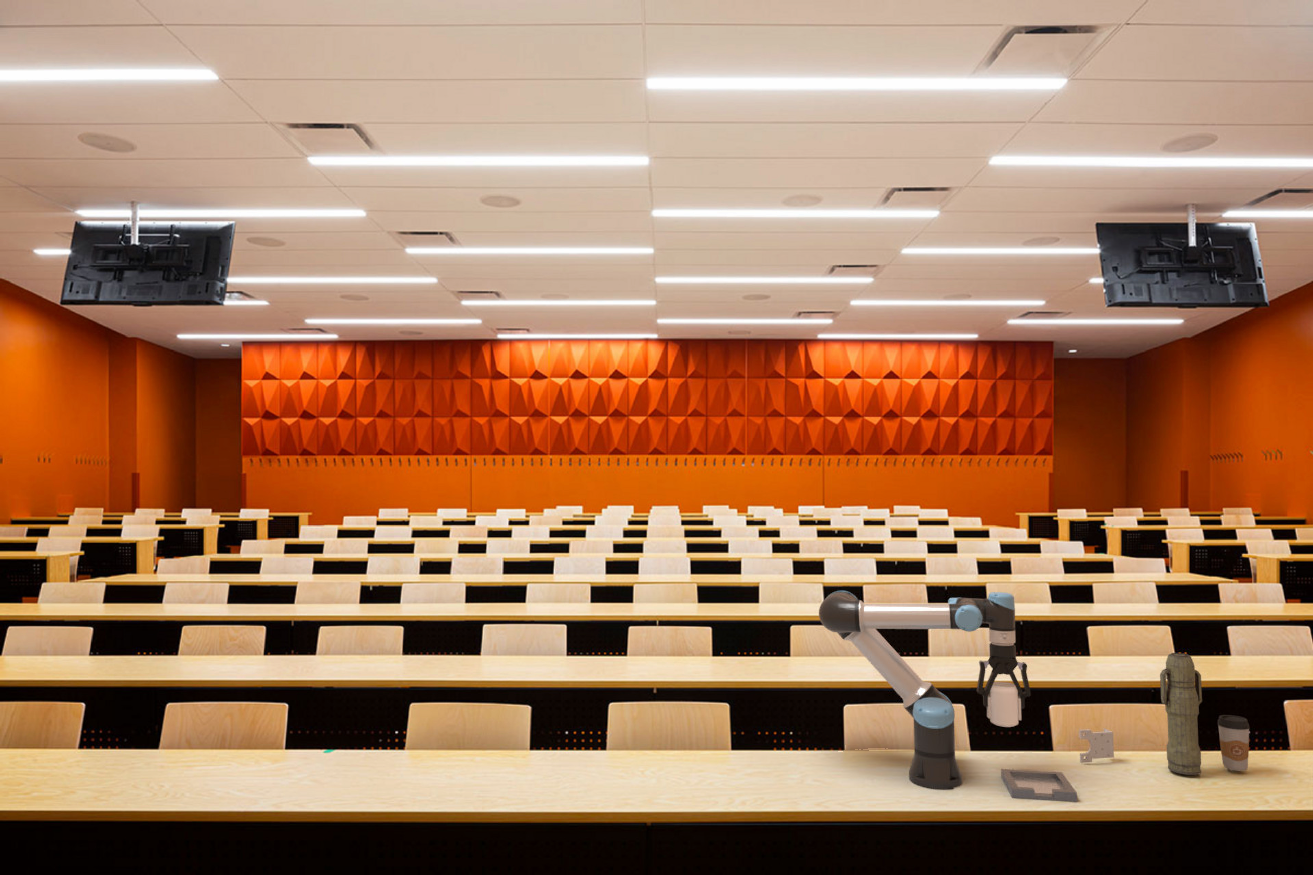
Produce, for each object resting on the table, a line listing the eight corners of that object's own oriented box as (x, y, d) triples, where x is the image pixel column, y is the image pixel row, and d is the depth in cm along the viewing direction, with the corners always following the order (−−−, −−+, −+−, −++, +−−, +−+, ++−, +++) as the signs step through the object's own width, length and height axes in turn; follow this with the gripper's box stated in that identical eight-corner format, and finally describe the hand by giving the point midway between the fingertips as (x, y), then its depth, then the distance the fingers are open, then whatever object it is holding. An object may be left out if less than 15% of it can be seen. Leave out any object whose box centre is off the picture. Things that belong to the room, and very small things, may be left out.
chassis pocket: (1012, 797, 243) (1011, 788, 243) (1001, 777, 259) (1000, 768, 259) (1077, 801, 239) (1076, 792, 239) (1062, 780, 256) (1061, 772, 256)
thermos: (1213, 773, 260) (1208, 656, 262) (1177, 775, 258) (1172, 658, 260) (1191, 764, 269) (1186, 650, 270) (1156, 766, 267) (1152, 652, 269)
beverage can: (1019, 721, 267) (1018, 682, 267) (1018, 728, 259) (1017, 688, 260) (991, 719, 270) (990, 680, 271) (989, 725, 263) (988, 686, 263)
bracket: (1105, 756, 277) (1103, 724, 278) (1114, 760, 273) (1112, 728, 274) (1073, 758, 276) (1072, 726, 276) (1081, 762, 272) (1080, 730, 272)
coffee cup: (1222, 770, 263) (1220, 720, 263) (1216, 761, 270) (1214, 713, 271) (1254, 773, 260) (1252, 723, 260) (1247, 764, 267) (1245, 715, 268)
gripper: (968, 644, 264) (970, 719, 263) (1041, 646, 260) (1043, 723, 259) (965, 639, 272) (966, 712, 271) (1035, 642, 267) (1037, 716, 266)
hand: (1004, 717), depth 265 cm, fingers closed on beverage can, 8 cm apart
